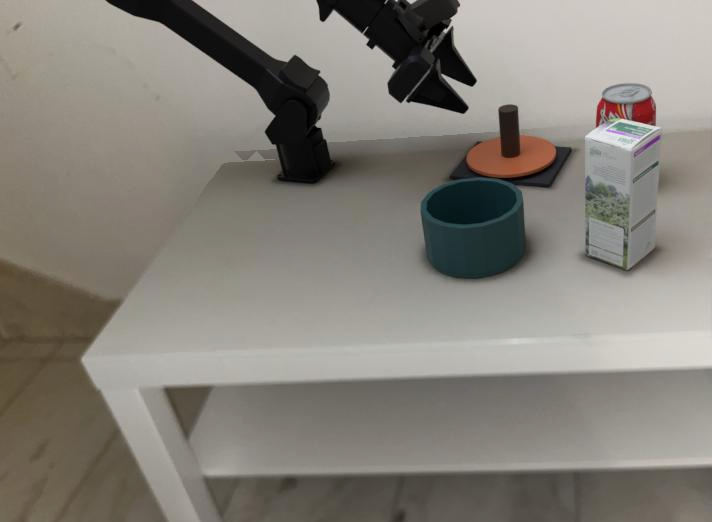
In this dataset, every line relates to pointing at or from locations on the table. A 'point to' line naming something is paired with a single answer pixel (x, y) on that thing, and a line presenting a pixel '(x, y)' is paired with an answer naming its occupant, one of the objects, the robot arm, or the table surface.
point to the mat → (535, 179)
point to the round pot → (474, 227)
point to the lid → (510, 150)
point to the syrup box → (621, 191)
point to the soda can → (627, 104)
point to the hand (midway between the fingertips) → (470, 97)
